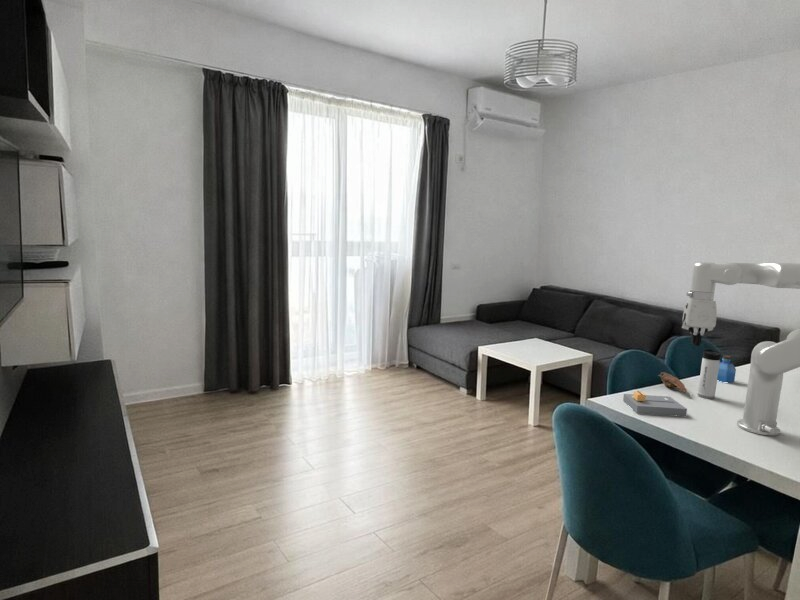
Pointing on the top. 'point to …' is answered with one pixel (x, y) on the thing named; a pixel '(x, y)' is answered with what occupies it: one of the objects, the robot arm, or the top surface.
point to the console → (655, 405)
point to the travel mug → (709, 374)
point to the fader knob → (639, 396)
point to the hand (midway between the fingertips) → (695, 345)
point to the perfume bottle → (726, 370)
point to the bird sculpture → (672, 381)
